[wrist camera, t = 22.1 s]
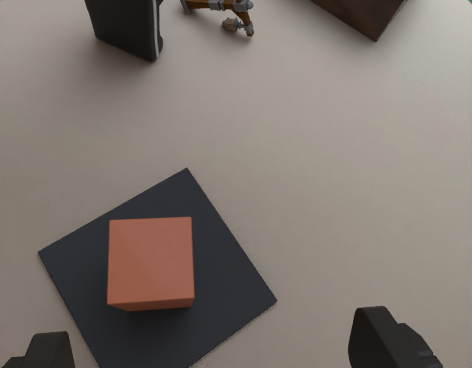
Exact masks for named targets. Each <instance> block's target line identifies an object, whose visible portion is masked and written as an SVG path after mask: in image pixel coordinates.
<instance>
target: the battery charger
mask: <svg viewBox="0 0 472 368" xmlns="http://www.w3.org/2000/svg"><path fill="white" fill-rule="evenodd" d="M84 1H85V4H86V7H87V9H88V12H89V15H90V18H91V22H92V25H93V29H94V33H95V36H96V37H97V38H98V39H100V40H102V41H105V42H107V43H109V44H111V45H113V46H115V47H118V48H120V49H122V50H124V51H126V52H129V53H131V54H133V55H136V56H138V57H140V58H143V59H145V60H147V61H150V62H154V61H155V60H156V59H157V58H158V57H159V53H160V52H161V50H162V47H163V39H162V37H161V36H160V31H159V6H160V4H161V3H162V1H163V0H84Z"/></svg>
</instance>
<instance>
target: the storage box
mask: <svg viewBox="0 0 472 368" xmlns="http://www.w3.org/2000/svg"><path fill="white" fill-rule="evenodd" d="M311 1H313V2H314V3H316V4H317V5H319V6H320V7H322V8H324V9H325V10H327V11H328V12H330V13H331V14H333V15H335V16H336V17H338V18H339V19H341V20H342V21H344V22H345V23H347V24H349V25H350V26H352V27H353V28H355V29H356V30H358V31H360V32H361V33H363V34H364V35H366V36H367V37H369V38H370V39H372V40H374V41H375V42H376V41H377V40H378V39H379V37H380V36H381V35H382V33H383V32H384V31H385V29H386V28H387V27H388V25H389V24H390V23H391V21H392V20H393V18H394V17H395V16H396V14H397V13H398V12H399V10H400V9H401V8H402V6H403V5H404V4H405V2H406V1H407V0H311Z"/></svg>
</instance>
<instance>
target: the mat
mask: <svg viewBox="0 0 472 368" xmlns="http://www.w3.org/2000/svg"><path fill="white" fill-rule="evenodd" d="M172 217H191V221H192V246H193V270H194V295H195V297H194V300H193V303H192V306H191V307H184V308H170V309H157V310H143V311H130V312H128V311H125V310H122V309H119V308H116V307H113V306H111V305H108V304H107V282H108V250H109V221H110V220H124V219H148V218H172ZM38 254H39V255H40V257H41V259H42V261H43V263H44V265H45V266H46V268H47V270H48V272H49V274H50V276H51V278H52V279H53V281H54V283H55V285H56V287H57V289H58V290H59V292H60V294H61V296H62V298H63V300H64V302H65V303H66V305H67V307H68V309H69V311H70V313H71V315H72V316H73V318H74V320H75V322H76V324H77V326H78V327H79V329H80V331H81V333H82V335H83V337H84V339H85V340H86V342H87V344H88V346H89V348H90V350H91V351H92V353H93V355H94V357H95V359H96V361H97V363H98V364H99V366H100V368H188V367H189V366H190V365H192V364H193V363H194V362H196V361H197V360H198V359H200V358H201V357H202V356H204V355H205V354H206V353H208V352H209V351H211V350H212V349H213V348H215V347H216V346H217V345H219V344H220V343H221V342H223V341H224V340H225V339H227V338H228V337H229V336H231V335H232V334H233V333H235V332H236V331H238V330H239V329H240V328H242V327H243V326H244V325H246V324H247V323H248V322H250V321H251V320H252V319H254V318H255V317H256V316H258V315H259V314H260V313H262V312H263V311H265V310H266V309H267V308H269V307H270V306H271V305H273V304H274V303H275V302H277V299H276V298H275V296H274V295H273V293H272V292H271V290H270V289H269V287H268V286H267V285H266V283H265V282H264V280H263V279H262V277H261V276H260V274H259V273H258V271H257V270H256V268H255V267H254V265H253V264H252V262H251V261H250V260H249V258H248V257H247V255H246V254H245V252H244V251H243V249H242V248H241V246H240V245H239V243H238V242H237V240H236V239H235V237H234V236H233V234H232V233H231V232H230V230H229V229H228V227H227V226H226V224H225V223H224V221H223V220H222V218H221V217H220V215H219V214H218V212H217V211H216V209H215V208H214V206H213V205H212V204H211V202H210V201H209V199H208V198H207V196H206V195H205V193H204V192H203V190H202V189H201V187H200V186H199V184H198V183H197V181H196V180H195V179H194V177H193V176H192V174H191V173H190V171H189V170H188V168H185V169H183V170H182V171H180V172H178V173H176V174H174V175H173V176H171V177H169V178H167V179H166V180H164V181H162V182H160V183H159V184H157V185H155V186H153V187H151V188H150V189H148V190H146V191H144V192H143V193H141V194H139V195H137V196H136V197H134V198H132V199H130V200H129V201H127V202H125V203H123V204H121V205H120V206H118V207H116V208H114V209H113V210H111V211H109V212H107V213H106V214H104V215H102V216H100V217H98V218H97V219H95V220H93V221H91V222H90V223H88V224H86V225H84V226H83V227H81V228H79V229H77V230H75V231H74V232H72V233H70V234H68V235H67V236H65V237H63V238H61V239H60V240H58V241H56V242H54V243H53V244H51V245H49V246H47V247H45V248H44V249H42V250H40V251H38Z"/></svg>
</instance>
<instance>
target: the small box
mask: <svg viewBox="0 0 472 368" xmlns="http://www.w3.org/2000/svg"><path fill="white" fill-rule="evenodd" d="M194 297H195V295H194V270H193V246H192V221H191V217H172V218H148V219H124V220H110V221H109V250H108V282H107V304H108V305H111V306H113V307H116V308H119V309H122V310H125V311H128V312H130V311H143V310H157V309H170V308H184V307H191V306H192V303H193V300H194Z"/></svg>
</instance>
